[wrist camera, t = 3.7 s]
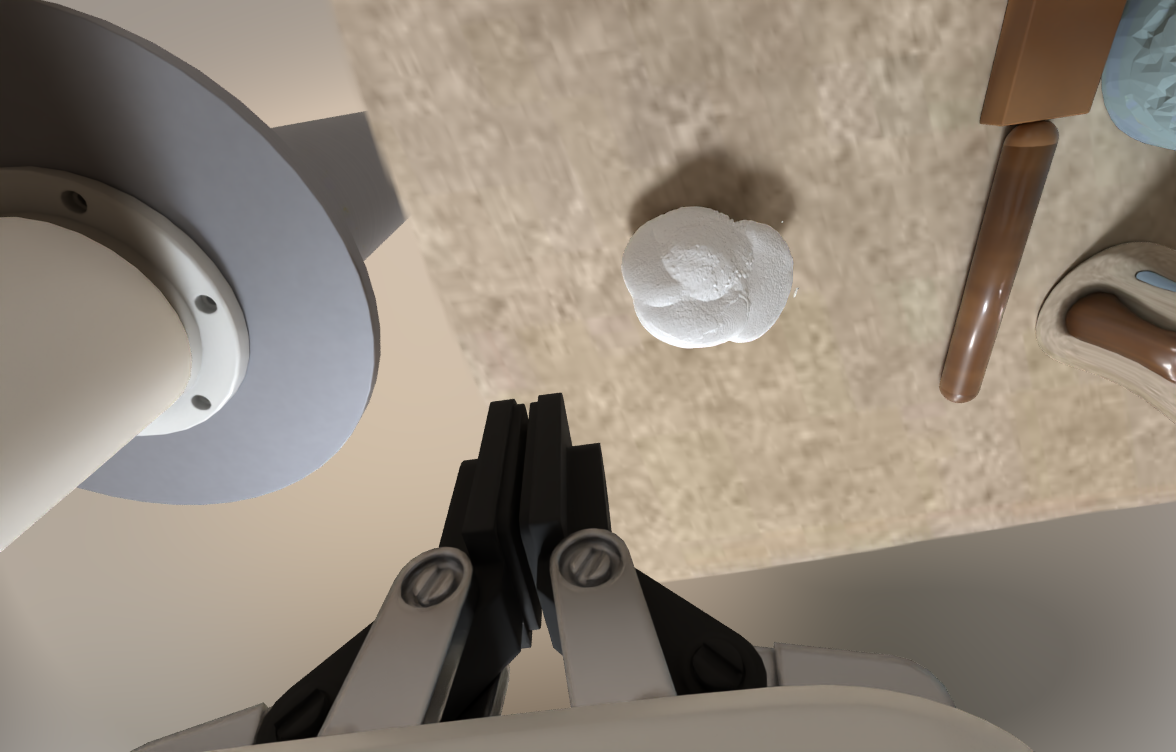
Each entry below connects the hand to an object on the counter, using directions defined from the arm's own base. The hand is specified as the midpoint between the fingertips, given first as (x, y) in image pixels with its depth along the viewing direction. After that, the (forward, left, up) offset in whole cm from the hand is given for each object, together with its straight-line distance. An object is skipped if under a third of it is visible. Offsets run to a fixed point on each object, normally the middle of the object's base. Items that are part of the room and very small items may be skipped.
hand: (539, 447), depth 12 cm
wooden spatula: (+19, 0, -11) cm, 22 cm away
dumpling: (+7, 0, -11) cm, 13 cm away
